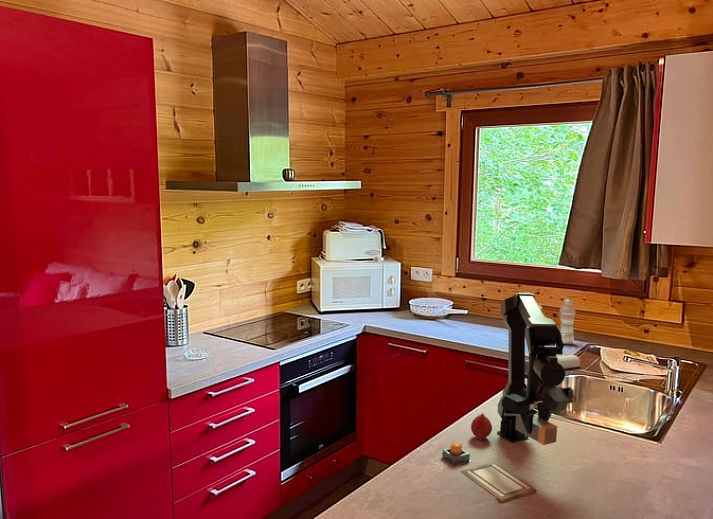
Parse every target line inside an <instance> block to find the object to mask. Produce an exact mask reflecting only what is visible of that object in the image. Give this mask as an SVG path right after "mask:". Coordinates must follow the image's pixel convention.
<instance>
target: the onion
mask: <svg viewBox="0 0 713 519" xmlns="http://www.w3.org/2000/svg"><path fill="white" fill-rule="evenodd" d="M491 422H492V421H490V419H489V418H488V417H487V416H486V415H485V413H483V412H482V413H480V414H479V415H477V416H475V418H474V419H473V420H472V421H471V423H470V429H471V432H472V434H473V435H474V436H475V437H476V438H477V439H478V440H485V439H486V438H487V437H488V436H490V435H491V433H492V432H493V426H492V423H491Z"/></svg>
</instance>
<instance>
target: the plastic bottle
mask: <svg viewBox="0 0 713 519" xmlns="http://www.w3.org/2000/svg"><path fill="white" fill-rule="evenodd" d="M573 304H574V299H573V298H568V297H567V298H564V299H563V304H562V306H561V307H560V308H559V320H560V321H559V322H560V323H559V324H560V325H559V330H560V332H561V336H562V341H563V345H572V344H573V343H574V340H575V336H574V320H575V316H576V309H575V307H574V305H573Z"/></svg>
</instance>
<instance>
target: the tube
mask: <svg viewBox="0 0 713 519" xmlns="http://www.w3.org/2000/svg"><path fill="white" fill-rule="evenodd" d="M556 357H557V358H558V363H559V364H560V365H561V366H562V367H563V368H564V370H566V369H572V368H573V369H574V368H578V367H579V366H580V363H581V360H580V357H578V356H577V355H575V354H570V355H560V356H556ZM525 373H528V360H527V359H525Z"/></svg>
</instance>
